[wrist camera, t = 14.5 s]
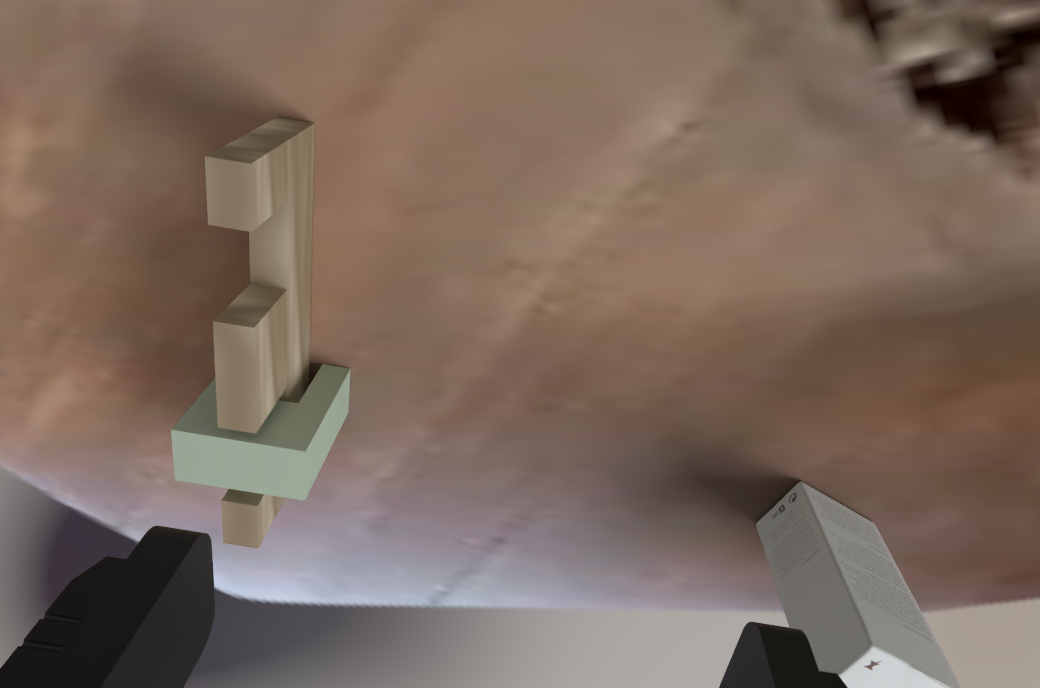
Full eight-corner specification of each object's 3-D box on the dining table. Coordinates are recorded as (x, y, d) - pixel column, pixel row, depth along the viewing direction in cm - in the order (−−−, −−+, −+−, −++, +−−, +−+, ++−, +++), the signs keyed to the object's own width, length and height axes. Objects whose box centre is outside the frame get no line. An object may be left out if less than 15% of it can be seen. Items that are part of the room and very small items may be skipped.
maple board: (314, 123, 36) (250, 164, 29) (307, 455, 45) (258, 548, 38) (277, 117, 36) (204, 156, 29) (278, 450, 45) (223, 542, 38)
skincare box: (752, 524, 45) (807, 696, 35) (799, 477, 44) (872, 644, 33) (828, 566, 47) (904, 745, 36) (877, 523, 45) (972, 698, 34)
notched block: (350, 368, 42) (305, 451, 35) (348, 412, 43) (304, 500, 36) (238, 350, 42) (170, 429, 35) (239, 394, 43) (175, 479, 36)
